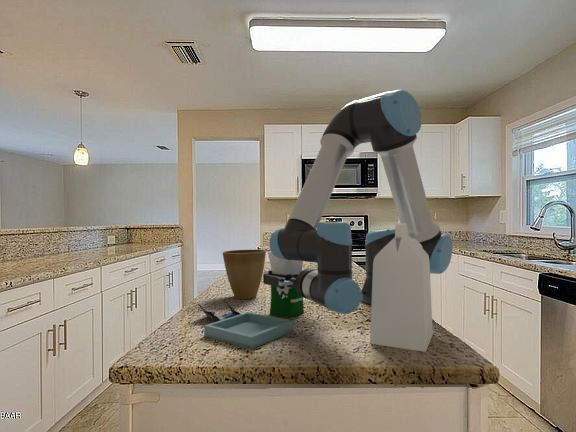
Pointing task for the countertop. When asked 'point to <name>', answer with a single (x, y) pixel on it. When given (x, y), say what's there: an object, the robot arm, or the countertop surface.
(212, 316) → the snack package
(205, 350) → the countertop surface
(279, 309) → the milk carton
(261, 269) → the plant pot
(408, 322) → the milk
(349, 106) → the robot arm
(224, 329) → the tray
